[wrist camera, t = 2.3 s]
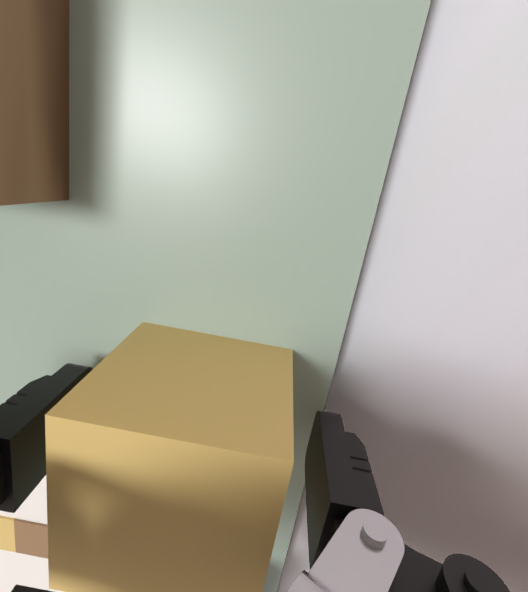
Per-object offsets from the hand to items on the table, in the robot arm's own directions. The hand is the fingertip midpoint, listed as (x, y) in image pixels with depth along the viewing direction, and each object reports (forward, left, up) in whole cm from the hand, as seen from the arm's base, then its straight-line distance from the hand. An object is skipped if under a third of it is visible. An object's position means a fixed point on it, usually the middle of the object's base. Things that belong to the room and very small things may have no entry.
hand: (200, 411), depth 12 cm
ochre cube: (0, 0, -1) cm, 1 cm away
